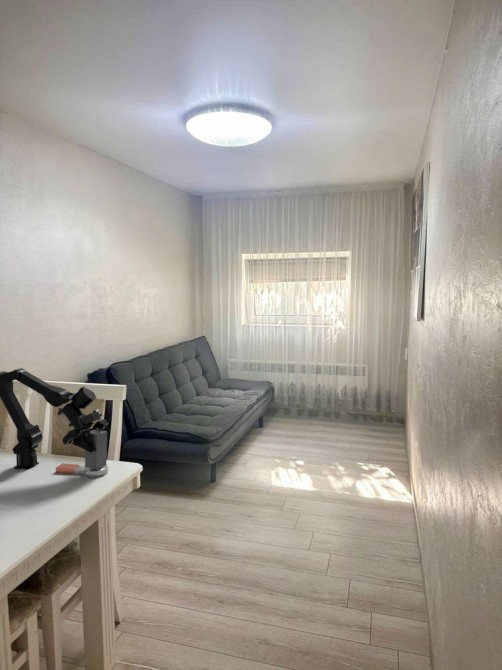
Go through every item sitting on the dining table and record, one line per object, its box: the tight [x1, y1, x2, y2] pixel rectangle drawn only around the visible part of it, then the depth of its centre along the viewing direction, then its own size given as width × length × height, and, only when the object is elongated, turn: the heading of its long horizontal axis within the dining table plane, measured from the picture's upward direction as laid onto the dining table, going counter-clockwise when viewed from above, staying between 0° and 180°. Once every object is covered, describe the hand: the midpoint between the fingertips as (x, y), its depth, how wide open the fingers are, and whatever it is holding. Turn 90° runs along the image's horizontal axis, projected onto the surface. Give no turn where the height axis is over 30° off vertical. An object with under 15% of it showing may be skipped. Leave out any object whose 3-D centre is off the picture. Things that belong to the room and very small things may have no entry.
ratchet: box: [55, 462, 109, 479], centre depth 165 cm, size 19×8×4 cm, turn 82°
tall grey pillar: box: [84, 429, 108, 469], centre depth 164 cm, size 5×5×13 cm
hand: (98, 449), depth 163 cm, fingers closed on tall grey pillar, 6 cm apart
